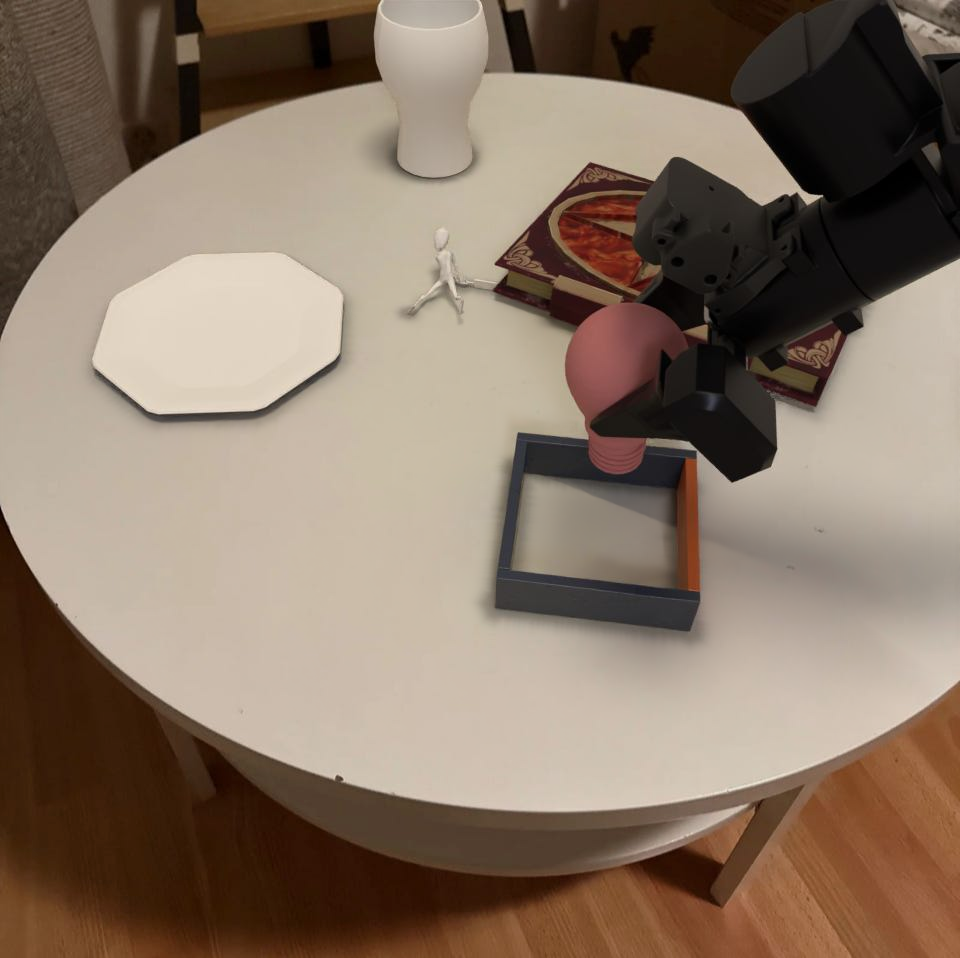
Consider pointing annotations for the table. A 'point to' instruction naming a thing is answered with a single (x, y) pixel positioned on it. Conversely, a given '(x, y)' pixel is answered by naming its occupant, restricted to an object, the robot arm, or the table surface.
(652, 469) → the square frame
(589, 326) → the pink screw bulb
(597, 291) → the book
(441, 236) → the action figure
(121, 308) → the plate
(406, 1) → the cup
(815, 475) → the table surface
